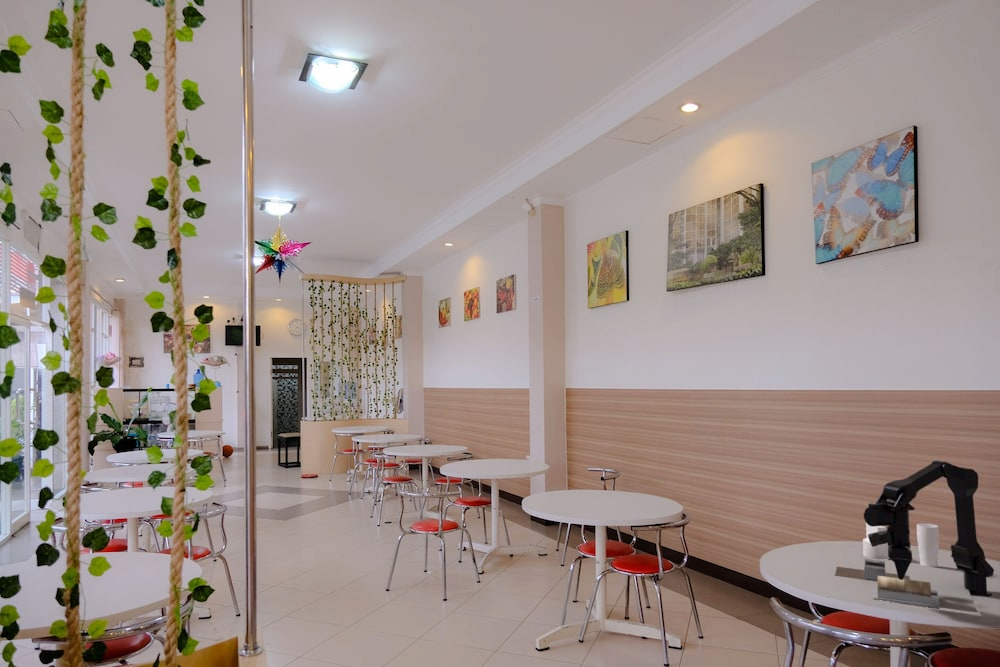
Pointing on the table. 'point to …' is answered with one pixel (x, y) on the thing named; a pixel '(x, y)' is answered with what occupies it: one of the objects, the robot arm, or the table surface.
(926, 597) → the v block
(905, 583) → the wooden axle
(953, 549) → the robot arm
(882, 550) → the white stepped block
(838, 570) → the brown board with blocks
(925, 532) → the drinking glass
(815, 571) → the table surface
